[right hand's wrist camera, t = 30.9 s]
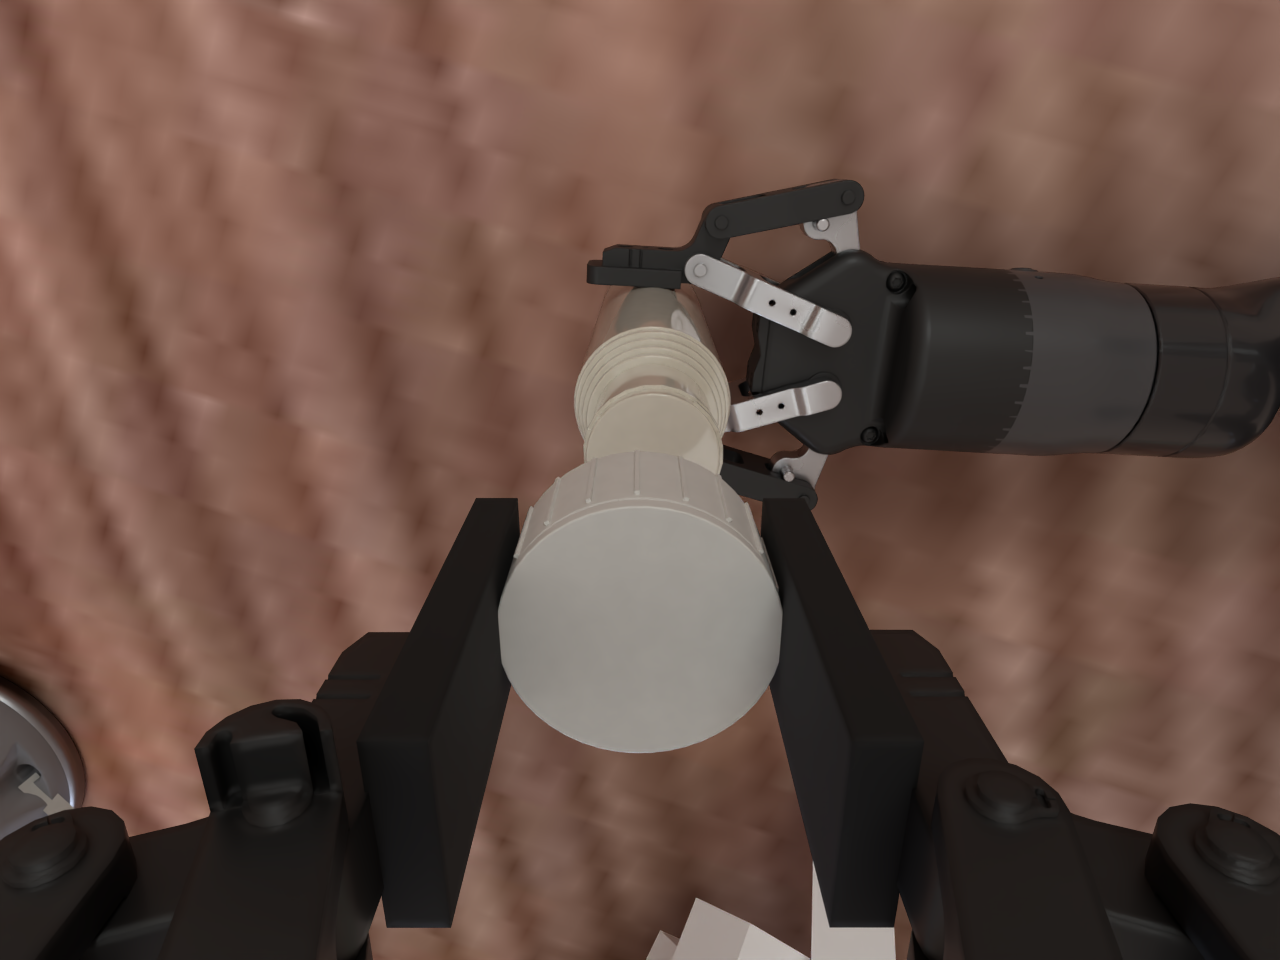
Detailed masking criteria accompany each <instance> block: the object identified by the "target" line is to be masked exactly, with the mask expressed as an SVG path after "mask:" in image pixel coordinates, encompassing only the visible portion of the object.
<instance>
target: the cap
mask: <svg viewBox="0 0 1280 960" xmlns="http://www.w3.org/2000/svg"><path fill="white" fill-rule="evenodd" d="M513 557H514V558H513V561H512V564H511V567H510V570H509V573H508V577H507V580H506V583H505V586H504V589H503V592H502V595H501V598H500V603H499V607H498V622H499V635H500V648H501V660H502V665H503V667H504V670H505V672H506V675H507V677H508V679H509V681H510V683H511V684H512V686H513V688H514V689H515V691H516V693H517V694H518V695H519V696H520V698H521V699H522V700H523V702H524V703H525V704H526V705H527V706H528V707H529V708H530V709H531V710H532V711H533V712H534V713H535V714H536V715H537V716H538V717H539V718H541V719H542V720H543V721H544V722H546V723H547V724H548V725H550V726H551V727H553V728H554V729H556V730H558V731H559V732H561V733H563V734H564V735H566V736H568V737H571V738H573V739H575V740H577V741H580V742H582V743H585V744H588V745H591V746H594V747H597V748H602V749H607V750H612V751H618V752H628V753H653V752H662V751H669V750H674V749H678V748H683V747H687V746H689V745H692V744H695V743H698V742H701V741H703V740H706V739H708V738H710V737H712V736H714V735H716V734H718V733H720V732H721V731H723V730H724V729H726V728H728V727H729V726H731V725H732V724H734V723H735V722H736V721H737V720H739V719H740V718H741V717H742V716H744V715H745V714H746V713H747V712H748V711H749V710H750V709H751V708H752V707H753V706H754V705H755V704H756V702H757V701H758V700H759V698H760V697H761V696H762V694H763V693H764V692H765V690H766V689H767V687H768V685H769V683H770V682H771V680H772V678H773V676H774V674H775V671H776V669H777V666H778V663H779V655H780V642H781V629H782V615H783V609H782V605H781V601H780V597H779V594H778V590H779V587H778V584H777V581H776V578H775V575H774V572H773V569H772V566H771V562H770V559H769V556H768V553H767V550H766V547H765V544H764V541H763V538H762V537H761V538H760V535H759V532H758V529H757V526H756V524H755V522H754V519H753V516H752V512H751V509H750V506H749V504H748V503H747V502H746V503H744V502H743V501H742V499H741V498H740V497H739V496H738V494H737V493H736V492H735V491H734V490H733V489H732V488H731V487H730V486H729V485H728V484H727V483H726V482H725V481H724V480H722V477H721V475H719V474H717V475H715V474H714V473H713V472H711V471H710V470H708V469H706V468H704V467H702V466H700V465H698V464H697V463H694V462H691V461H689V460H686V459H684V458H683V456H678V457H677V456H673V455H669V454H665V453H656V452H648V451H644V452H640V450H635V452H624V453H617V454H611V455H608V456H604V457H600V458H597V457H595V458H592V461H589V462H587V463H584V464H582V465H580V466H578V467H576V468H575V469H573V470H571V471H569V472H568V473H566V474H565V475H564V476H562V477H561V478H559V477H557V478H556V479H555V482H554V483H553V484H552V485H551V486H550V487H549V488H548V489H547V490H546V491H545V492H544V493H543V495H542V496H541V497H540V499H539V500H538V501H537V503H536V504H535V505H534V507H532V506H530V508H529V510H528V513H527V516H526V519H525V522H524V525H523V528H522V531H521V534H520V538H519V541H518V544H517V547H516V550H515V553H514V556H513Z"/></svg>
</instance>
